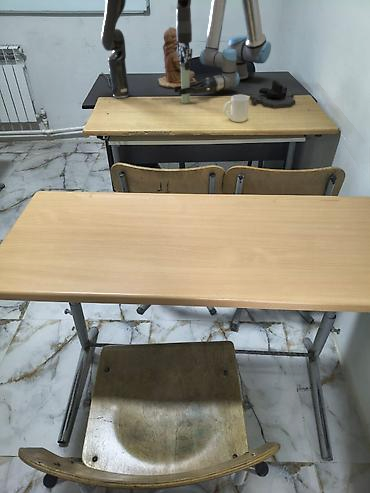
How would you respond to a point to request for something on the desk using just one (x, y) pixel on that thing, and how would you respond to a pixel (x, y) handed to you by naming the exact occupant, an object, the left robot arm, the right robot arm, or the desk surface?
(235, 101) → the mug
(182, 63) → the lid
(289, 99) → the abstract sculpture
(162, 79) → the sculpture
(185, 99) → the bottle
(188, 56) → the left robot arm
